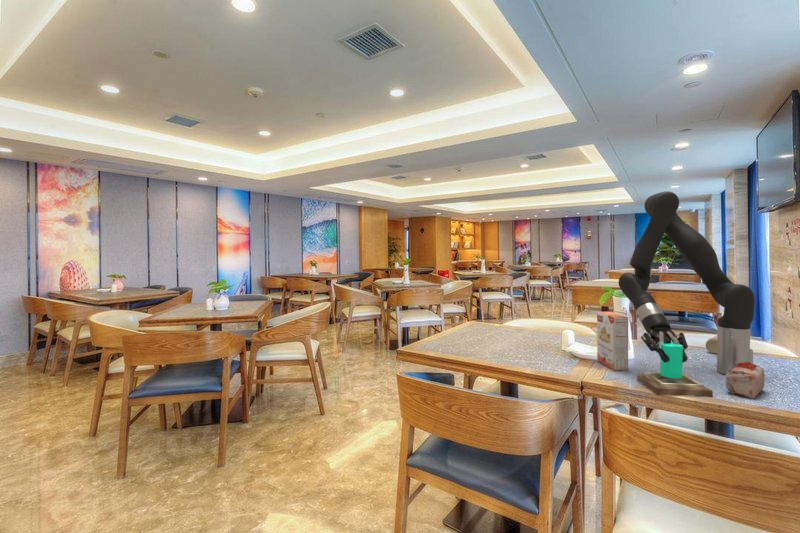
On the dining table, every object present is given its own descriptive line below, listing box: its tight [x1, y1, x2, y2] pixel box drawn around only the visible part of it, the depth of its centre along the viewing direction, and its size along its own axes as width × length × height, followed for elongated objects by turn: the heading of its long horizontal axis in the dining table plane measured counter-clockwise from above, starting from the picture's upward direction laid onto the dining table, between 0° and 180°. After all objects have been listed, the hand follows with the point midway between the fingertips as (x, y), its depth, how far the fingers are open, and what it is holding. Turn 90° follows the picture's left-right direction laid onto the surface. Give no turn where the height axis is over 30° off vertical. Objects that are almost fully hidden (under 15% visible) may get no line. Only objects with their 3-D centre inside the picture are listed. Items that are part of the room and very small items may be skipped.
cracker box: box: [596, 311, 629, 372], centre depth 155 cm, size 14×6×21 cm, turn 177°
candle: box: [659, 340, 683, 379], centre depth 129 cm, size 6×6×12 cm
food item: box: [725, 361, 765, 400], centre depth 124 cm, size 14×8×10 cm, turn 129°
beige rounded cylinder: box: [705, 335, 717, 355], centre depth 171 cm, size 11×8×8 cm
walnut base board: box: [636, 372, 714, 398], centre depth 129 cm, size 16×14×3 cm
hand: (676, 361), depth 127 cm, fingers closed on candle, 5 cm apart
